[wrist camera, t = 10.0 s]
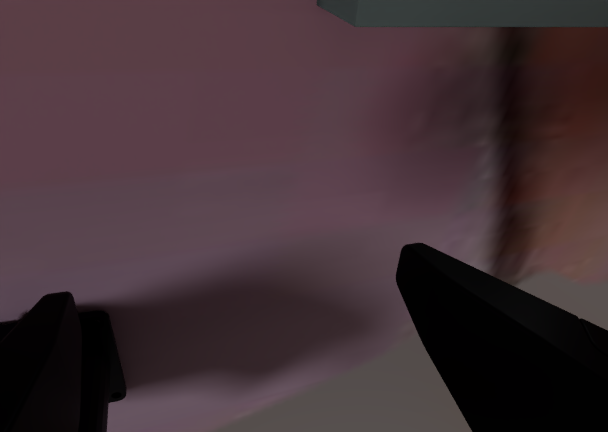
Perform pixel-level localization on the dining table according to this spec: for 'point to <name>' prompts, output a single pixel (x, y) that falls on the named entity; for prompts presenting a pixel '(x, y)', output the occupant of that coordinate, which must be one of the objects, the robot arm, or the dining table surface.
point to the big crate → (470, 13)
